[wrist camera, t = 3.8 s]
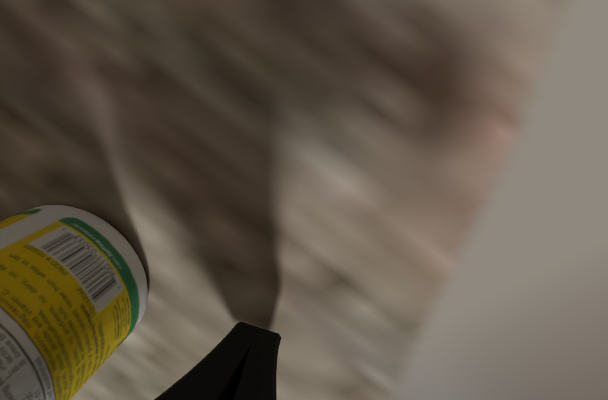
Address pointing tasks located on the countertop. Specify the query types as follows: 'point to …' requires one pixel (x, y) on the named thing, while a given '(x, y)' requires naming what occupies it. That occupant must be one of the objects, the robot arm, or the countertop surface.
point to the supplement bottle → (63, 300)
